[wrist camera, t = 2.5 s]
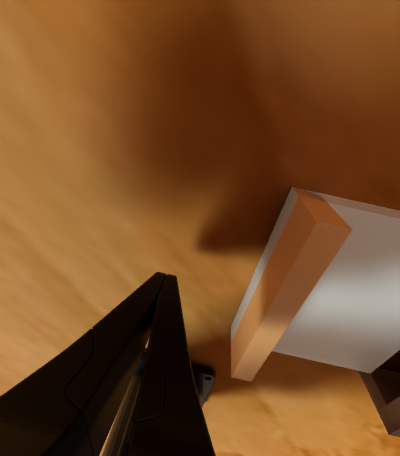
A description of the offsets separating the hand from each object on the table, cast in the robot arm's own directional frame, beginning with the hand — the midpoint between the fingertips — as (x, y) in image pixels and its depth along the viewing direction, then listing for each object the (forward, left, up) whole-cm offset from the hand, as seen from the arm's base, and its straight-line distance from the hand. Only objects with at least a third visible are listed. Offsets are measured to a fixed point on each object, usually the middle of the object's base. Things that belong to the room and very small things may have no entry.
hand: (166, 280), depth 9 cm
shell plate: (0, -8, -2) cm, 8 cm away
